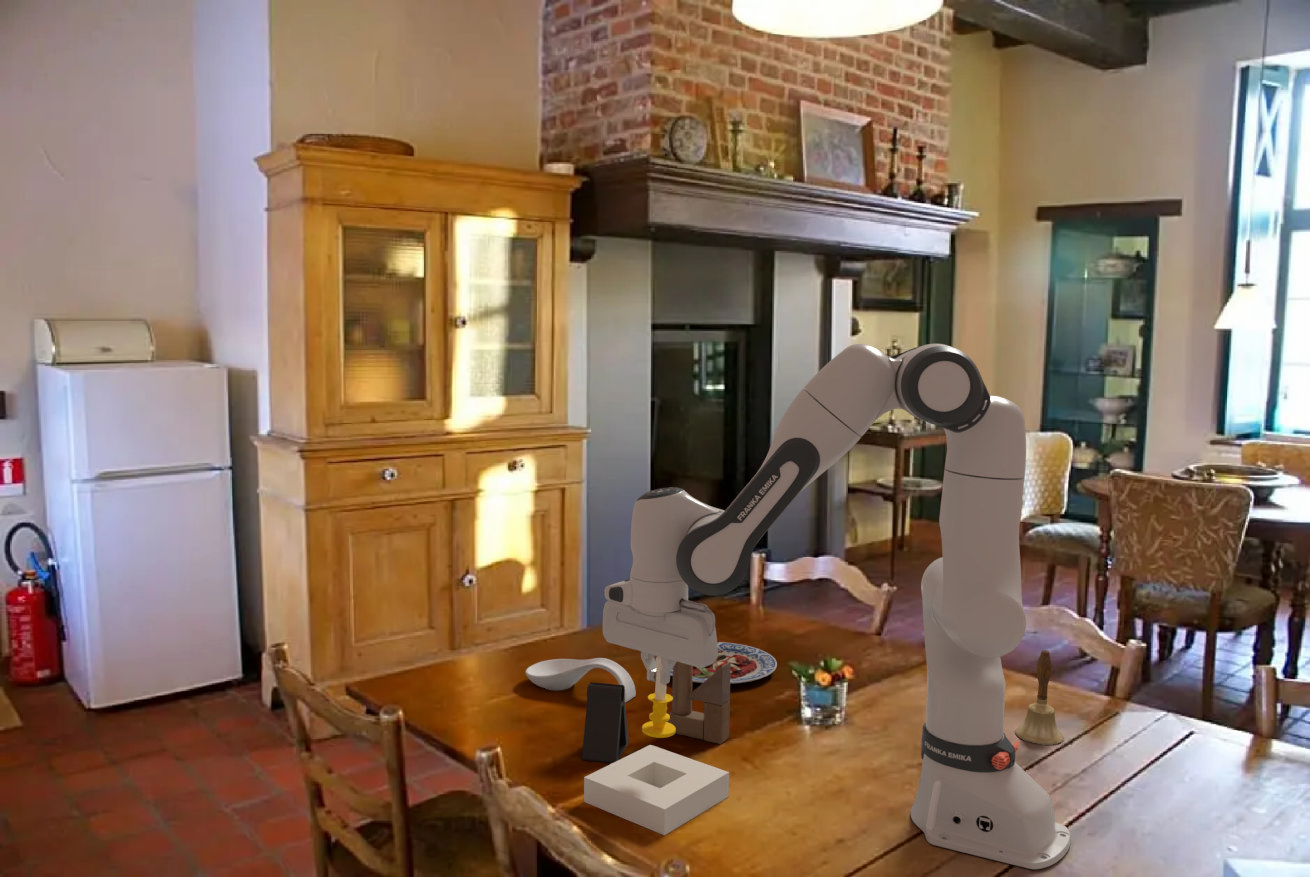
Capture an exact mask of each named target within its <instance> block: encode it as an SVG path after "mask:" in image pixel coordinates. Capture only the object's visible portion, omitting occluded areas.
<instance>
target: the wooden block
mask: <svg viewBox="0 0 1310 877" xmlns="http://www.w3.org/2000/svg"><path fill="white" fill-rule="evenodd" d="M730 668H731V662H728V663H727V664H725V665H724V666H722V667H721V668H720V669H719V670H717V671H716V672H715V673H714V674H713V675H712V676H710V677H709V678H708V679H707V680H706V681H705V682H704V683H700V685H698V686H697V687H696V688H695V689H694V690H693V682H692V673H693V666H692V665H688V664H685V663H681V662H676V663H675V665H674V667H673V676H672V697H673V700H672V701H671V702H672V704H671V705H672V710H671V711H670V712H669V713H668V714H669V716H670V719H669V720H668V721H667V722H668V723H671V724H672V725H674V726H675V728H676V732H675V734H677V735H680V736H684V737H689V738H694V739H698V740H703V741H705V742H711V743H714V744H718V745H722V744H723V743H725V742H726V741H727V740H728V739H729V737H730V714H731V712H730V710H731V709H730V706H731V701H730V699H731V698H730V697H731V684H730ZM693 700H694V701H697V702H698V701H699V702H702V703H703V704H704V705H703V706H704V707H703V710H704V711H703V712H700V711H695V710H693Z"/></svg>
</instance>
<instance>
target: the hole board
mask: <svg viewBox="0 0 1310 877" xmlns="http://www.w3.org/2000/svg"><path fill="white" fill-rule="evenodd" d="M583 778H584V779H583V800H584V801H583V802H584V803H586V804H588V805H590V806H593V807H596V808H598V809H601V810H602V811H605V812H606V813H607V812H608V813H610V814H613V815H614V816H617V817H618V818H621V819H625V820H627V821H629V822H631V823H634V824H637V825H638V826H641V827H643V828H646V829H648V830H650V831H653V832H655V833H657V834H660V835H662V836H667V835H669V833H671V832H673V831H675V830H677V829H678V828H680V827H681V826H683V825H684V824H686V823H687V822H690V821H691V820H692V819H695V818H696V817H697V816H699V815H701V814H703V813H704V812H707V810H709V809H710V808H712V807H714V806H715V805H717V804H719V803H720V802H722V801H724V800H726V799H727V798H728V797H729V796H730V794H729V792H730V772H729V771H727V770H723V769H721V768H718V767H715V766H713V765H709V764H706V763H705V762H701V761H698V760H695V759H692V758H689V757H687V756H684V755H681V754H678V753H675V752H672V751H670V750H667V749H664V748H662V747H659V746H655V745H651V744H649V745H647V746H645V747H642V748H641V749H639V750H637V751H634V752H633V753H630V754H629V755H627V756H624V757H622V758H621V759H620V758H619V760H618V761H616V762H614V763H610V764H609V765H606V766H604V767H602V768H600V769H598V770H596V771H594V772H592V773H590V774H588V775H586V776H584V777H583Z"/></svg>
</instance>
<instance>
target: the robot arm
mask: <svg viewBox="0 0 1310 877" xmlns="http://www.w3.org/2000/svg"><path fill="white" fill-rule="evenodd" d="M984 382H985V381H984V380H983V377H982V375H981V373H980V370H979V368H978V367H977V365H976V363H975V362H974V361H973V359H972V358H971V357H969V356H968V354H966V353H965V352H964V351H962V350H960V349H958V348H957V347H956V348H955V347H953V346H950V345H947V344H944V343H929V344H924V345H922V346H921V345H920V346H917V347H913V348H910V349H907V350H905V351H903V352H900V353H897V354H895V355H892V356H888V355H887V354H885V353H884V352H883V351H882V350H880V349H878V348H876V347H874V346H872V345H868V344H864V343H854V344H851V345H849V346H847V347H846V348H844V349H843V350H842V351H840V352H839V353H838V354H837V355H835V356H834V357H833V358H832V359H831V360H830V361H828V362H827V363H826V364H825V365H824V366H823V367H822V368H821V369H820V370H819V371H818V372H817V373H816V374H815V375H813V377H812V378H811V379H810V380H809V381H808V382H807V384H806V385H805V386H804V387H803V388H802V389H801V390H800V391H799V392H798V394H797V395H796V396H795V398H794V399H793V400H792V402H791V403H790V405H789V406H788V408H787V409H786V411H785V412H784V415H783V416H782V417H781V419H780V421H779V423H778V425H777V427H776V430H775V432H774V435H773V439H772V441H771V444H770V446H769V450H768V452H767V455H766V457H765V458H764V460H763V462H762V464H761V466H760V467H759V469H758V470H757V472H756V474H754V476H753V477H752V478H751V480H750V481H749V482H748V483H747V484H746V486H744V487H743V489H742V490H741V491H740V492H739V493H738V495H737V496H736V498H734V499H733V501H732V502H731V503H730V505H729V506H728V507H727V508H725V510H724V509H721V508H717V507H714V506H711V505H708V504H707V503H704V502H702V501H700V500H699V499H696V498H694V497H693V496H692V495H690V494H689V493H688V492H687V491H685V490H684V489H683V488H681V487H673V486H672V487H671V486H669V487H662V488H661V487H660V488H657V489H656V488H655V489H653V490H649V491H646V492H644V493H643V494H641V495H640V496H639V497H638V499H636V500H635V503H634V505H633V508H632V513H631V514H632V515H631V525H630V550H631V553H632V566H631V569H630V573H629V574H630V577H629V579H626V580H625V579H624V580H622V581H618V582H615V583H612V584H610V585H606V586H605V587H604V598H605V599H606V600H607V601H606V602H605V603H604V606H603V610H602V612H603V613H602V634H603V637H604V639H605V641H606V642H607V643H610V644H614V645H617V646H621V647H624V648H627V649H630V650H631V649H632V650H634V651H639V652H640V658H641V661H642V663H643V665H644V667H645V669H646V679H647V681H650V682H653V683H656V675H657V672H656V667H657V665H656V658H655V657H657V656H659V657H661V663H662V664H664V665H663V667H662V669H661V671H660V683H661V684H663V685H665V684H666V685H667V684H669V683H670V680H671V676H670V671H671V670H672V669H673V667H674V665H675V663H676V662H681V663H685V664H688V665H692V666H695V667H699V668H703V667H706V666H708V665H710V664H712V663H714V661H715V660H716V659H717V656H718V649H717V642H718V639H717V638H718V637H717V631H716V630H717V629H716V616H715V613H713V611H712V610H711V609H710V608H709V607H708V605H707V604H704V603H702V602H699V603H698V602H695V601H693V600H689V588H690V589H692V590H693V591H694V592H696V593H699V594H701V595H705V596H710V597H711V596H712V597H713V596H722V595H726V594H727V593H731V592H732V591H734V589H736V588H737V587H738V586H739V585H740V584H741V583H742V581H743V580H744V578H745V576H746V574H747V572H748V568H749V565H750V561H751V557H752V555H753V552H754V549H755V547H756V546H757V544H758V543H759V541H760V540H761V539H762V537H764V535H765V534H767V533H766V532H767V531H768V530H769V529H770V527H772V525H773V524H774V523H775V522H776V521H777V520H778V518H779V517H780V516H781V515H782V513H783V512H784V511H785V510H786V509H787V508H788V506H790V504H791V503H792V502H793V501H794V500H795V498H796V497H797V496H798V495H799V494H800V493H801V492H802V491H804V490H805V489H806V488H807V487H808V486H809V485H810V484H811V483H813V482H814V481H815V480H816V479H817V478H819V477H820V476H821V475H823V473H825V472H826V471H827V470H829V469H830V468H831V467H832V466H834V465H835V464H836V463H837V462H838V461H839V460H840V459H842V458H843V457H844V456H845V455H846V454H847V453H848V452H849V451H850V450H851V449H852V448H853V447H855V445H856V444H857V443H858V442H859V441H860V439H861V438H862V437H863V436H864V435H865V434H866V432H867V431H868V430H869V429H870V427H872V425H873V424H874V423H875V422H876V421H877V420H878V419H880V418H881V417H882V416H883V415H885V414H886V413H889V412H891V411H893V410H899V409H900V410H902V411H906V412H907V413H908V414H909V415H911V416H912V417H914V418H916V419H918V420H921V421H923V422H924V421H925V422H927V423H929V424H932V425H935V426H937V427H940V428H942V429H943V430H944V432H945V437H946V448H947V450H946V456H945V463H944V470H943V483H942V491H941V492H942V493H941V499H940V500H941V501H940V510H939V519H938V522H939V523H938V524H939V528H940V539H941V550H942V551H941V552H942V557H939V558H937V559H935V560H933V562H931V563H930V564H929V565H928V566H927V568H926V569H925V570H924V573H923V575H922V578H921V581H920V585H921V586H920V589H921V597H922V600H921V601H922V618H923V619H922V620H923V623H922V624H923V636H924V637H923V638H924V649H925V660H926V675H927V678H926V684H927V685H926V704H925V708H926V709H925V722H924V724H923V725H922V732H921V739H920V740H921V741H920V742H921V743H920V745H921V746H920V747H921V748H920V749H921V752H920V753H921V754H920V756H921V759H922V764H921V766H922V767H921V773H920V777H919V783H918V788H917V792H916V796H915V799H914V802H913V804H912V807H911V810H910V819H911V820H912V822H913V824H915V825H916V826H917V827H918V828H919V829H920V830H921V831H922V832H923V833H924V836H925V839H926V841H927V842H928V843H929V844H931V845H933V846H936V847H941V848H944V849H948V850H952V851H957V852H961V853H966V854H969V855H973V856H976V857H981V858H985V859H989V860H993V861H996V862H1002V863H1005V864H1010V865H1013V866H1017V867H1021V868H1026V869H1028V870H1029V869H1030V870H1040V869H1045V868H1048V867H1051V866H1053V865H1054V864H1056V863H1058V862H1059V861H1060V860H1061V859H1062V858H1063V857H1064V856H1065V855H1066V854H1067V852H1068V851H1069V849H1070V847H1071V833H1070V830H1069V828H1067V826H1065V825H1064V824H1061V823H1059V822H1057V821H1056V820H1055V819H1056V818H1055V810H1054V804H1053V801H1052V798H1051V796H1050V795H1049V793H1048V791H1046V790H1045V789H1044V788H1043V787H1042V786H1041V785H1040V784H1039V783H1037V781H1035V779H1033V778H1032V777H1031V776H1030V774H1028V773H1027V772H1026V771H1025V770H1024V769H1023V768H1022V767H1021V766H1020V765H1019V764H1018V763H1017V762H1016V752H1018V750H1019V744H1020V741H1019V740H1016V741H1015V743H1012V742H1011V741H1010V740H1009V739H1008V737H1007V735H1006V733H1005V732H1004V725H1005V724H1004V723H1005V707H1006V706H1005V705H1006V704H1005V703H1006V688H1007V687H1006V686H1007V685H1006V679H1005V674H1004V670H1003V666H1002V659H1001V657H1003V656H1006V655H1008V654H1010V653H1011V652H1012V651H1013V650H1015V649H1016V648H1017V647H1018V646H1019V645H1020V644H1021V641H1023V638H1024V637H1025V633H1026V630H1027V619H1026V613H1025V610H1024V604H1023V598H1022V567H1021V566H1022V565H1021V555H1020V553H1021V552H1020V523H1021V522H1020V521H1021V515H1022V514H1021V513H1022V505H1023V494H1024V486H1025V485H1024V484H1025V476H1026V466H1027V465H1026V464H1027V463H1026V462H1027V433H1026V422H1025V416H1024V413H1023V411H1022V409H1021V407H1020V406H1019V405H1017V404H1016V403H1015V402H1014V401H1011V400H1010V399H1007V398H1005V397H1003V396H999V395H998V396H997V395H990V393H989V390H988V389H987V386H986V384H985V383H984Z"/></svg>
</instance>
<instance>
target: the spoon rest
mask: <svg viewBox="0 0 1310 877" xmlns="http://www.w3.org/2000/svg"><path fill="white" fill-rule="evenodd" d="M593 669H603V670H604V671H607V672H609V673H610V674H611V675H612V676H613V677H614V679H616V681H617V683H618V685H624V687H625V704H626V703H628V702H629V701H631V700H632V699H634V697H636V694H637V693H636V692H637V691H636V686H635V683H634V680H633V679H632V677H631V675H630V674H629V672H628V671H627V670H626V669H625V668H624V667H622V666H621V665H620V664H619V663H617V662H616V661H614V660H611V659H609V658H605V657H595V658H588V659H576V658H575V659H573V658H572V659H571V658H557V659H556V658H555V659H548V660H541V661H539V662H536V663H534V664H532V665H530V666H528V667H527V668H526V670H525V672H524V673H525V675H526V677H527V678H528V680H530V681H531V682H532V683H533V684H535V685H536V686H538V687H540V688H543V689H544V688H545V689H544V690H549V691H564V690H569V689H570V688H572V687H573V685H575V684H576V683H577V682H578V681H580V680H581V679H582V678H583V677H584V676H585V675H586V674H587V673H588V672H589V671H591V670H593Z"/></svg>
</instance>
